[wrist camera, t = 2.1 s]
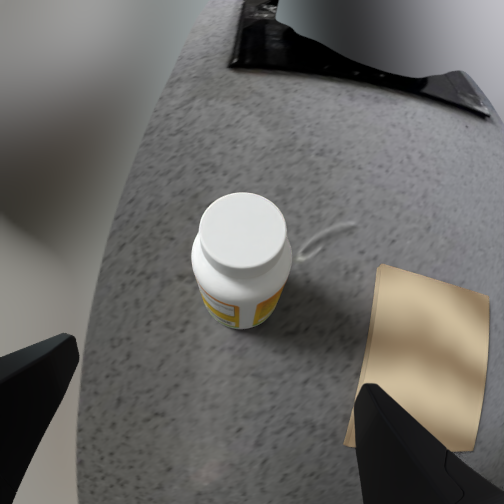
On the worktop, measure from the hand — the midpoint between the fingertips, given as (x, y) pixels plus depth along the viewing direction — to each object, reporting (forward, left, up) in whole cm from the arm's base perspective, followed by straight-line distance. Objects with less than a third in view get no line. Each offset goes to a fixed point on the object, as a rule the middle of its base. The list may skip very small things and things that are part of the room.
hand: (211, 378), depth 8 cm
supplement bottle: (+7, +1, -13) cm, 15 cm away
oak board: (+5, -15, -13) cm, 20 cm away
